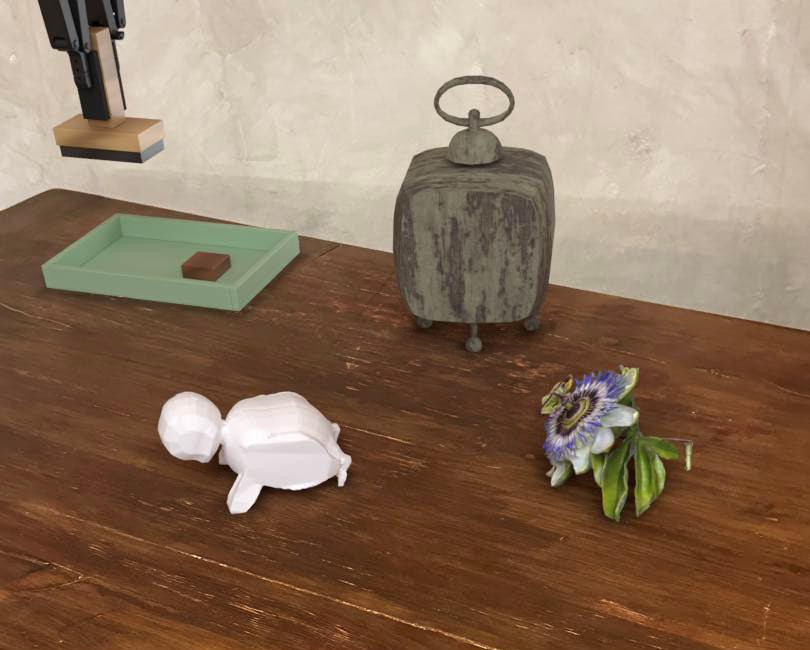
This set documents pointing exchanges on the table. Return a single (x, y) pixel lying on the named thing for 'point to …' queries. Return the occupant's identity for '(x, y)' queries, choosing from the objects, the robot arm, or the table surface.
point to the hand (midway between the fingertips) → (105, 113)
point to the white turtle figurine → (256, 442)
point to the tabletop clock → (475, 227)
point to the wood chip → (206, 266)
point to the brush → (110, 120)
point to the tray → (171, 260)
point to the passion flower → (605, 439)
